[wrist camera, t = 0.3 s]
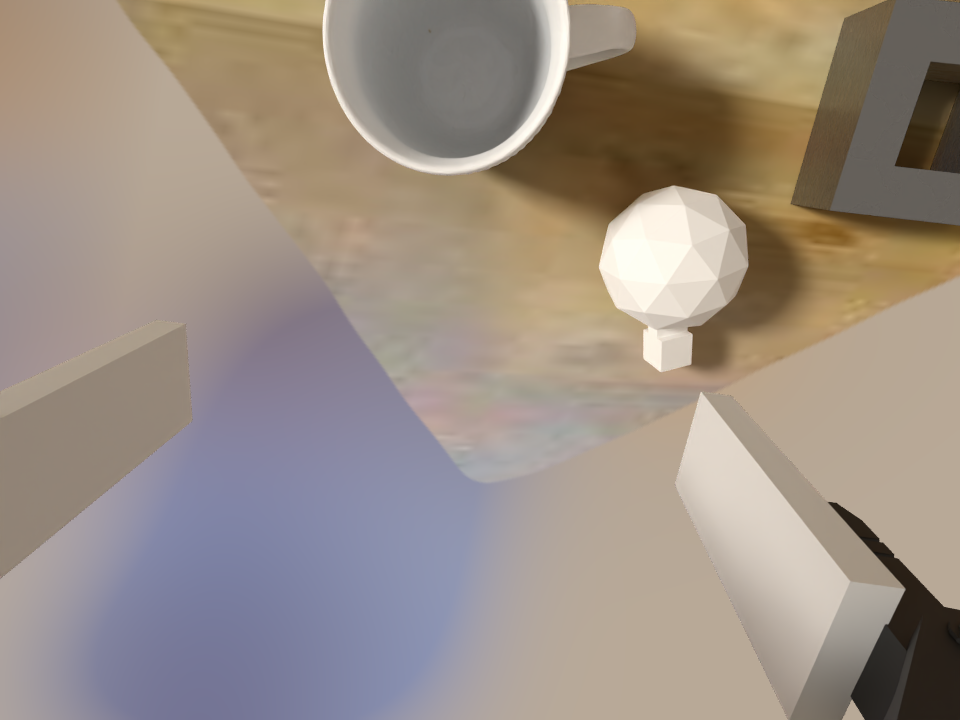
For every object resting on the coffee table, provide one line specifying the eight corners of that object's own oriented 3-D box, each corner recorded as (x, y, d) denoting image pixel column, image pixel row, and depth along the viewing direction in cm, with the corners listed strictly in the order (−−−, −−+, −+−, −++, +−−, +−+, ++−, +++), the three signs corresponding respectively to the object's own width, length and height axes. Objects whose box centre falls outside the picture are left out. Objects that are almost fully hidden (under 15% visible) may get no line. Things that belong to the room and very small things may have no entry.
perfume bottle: (574, 187, 36) (582, 351, 42) (648, 211, 28) (647, 410, 34) (692, 165, 38) (685, 326, 43) (794, 182, 30) (770, 376, 35)
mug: (604, -49, 34) (656, -168, 21) (621, 144, 37) (673, 137, 25) (367, 4, 35) (288, -78, 23) (404, 184, 39) (354, 195, 27)
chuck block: (844, 18, 34) (897, -4, 29) (1026, 38, 34) (1109, 19, 29) (790, 203, 38) (829, 210, 33) (954, 222, 38) (1016, 231, 33)
